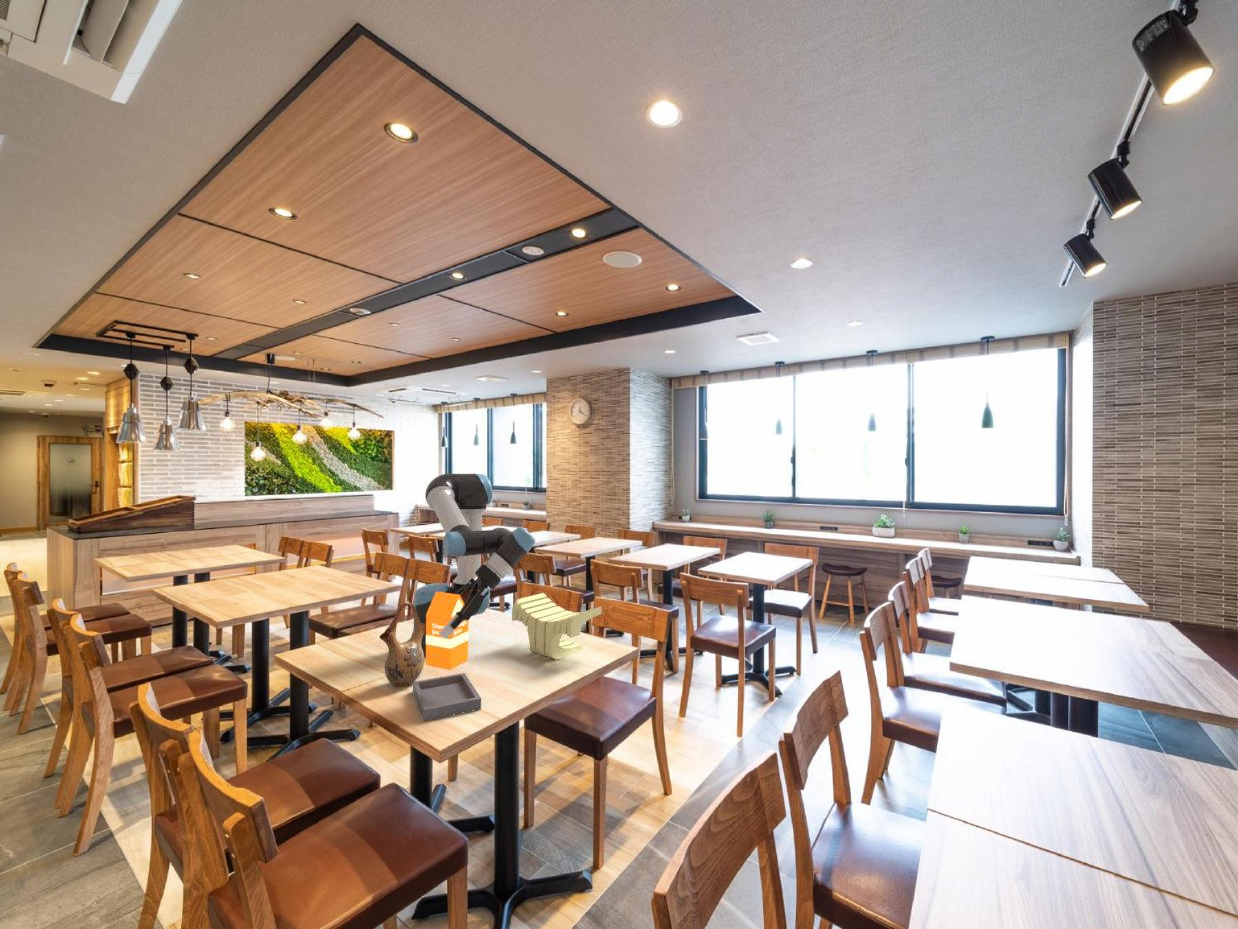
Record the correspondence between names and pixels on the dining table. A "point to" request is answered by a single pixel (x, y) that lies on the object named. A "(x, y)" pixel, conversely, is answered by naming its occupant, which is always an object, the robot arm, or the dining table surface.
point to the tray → (445, 696)
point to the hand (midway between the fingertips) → (438, 630)
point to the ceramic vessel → (404, 652)
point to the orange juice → (456, 645)
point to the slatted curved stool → (550, 625)
